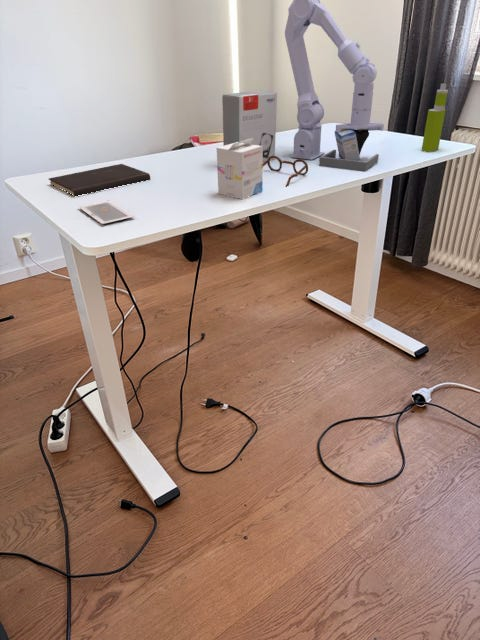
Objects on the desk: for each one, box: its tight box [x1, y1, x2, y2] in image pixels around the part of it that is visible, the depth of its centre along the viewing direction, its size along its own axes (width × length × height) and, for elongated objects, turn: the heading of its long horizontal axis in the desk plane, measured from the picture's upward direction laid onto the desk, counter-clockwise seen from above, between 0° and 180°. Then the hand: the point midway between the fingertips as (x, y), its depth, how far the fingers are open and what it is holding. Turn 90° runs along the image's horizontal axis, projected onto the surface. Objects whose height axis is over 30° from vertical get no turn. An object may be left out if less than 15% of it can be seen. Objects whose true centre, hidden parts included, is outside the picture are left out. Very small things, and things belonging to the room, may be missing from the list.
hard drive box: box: [221, 90, 278, 163], centre depth 149 cm, size 16×8×20 cm, turn 129°
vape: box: [421, 83, 449, 153], centre depth 158 cm, size 4×6×20 cm, turn 126°
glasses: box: [263, 155, 309, 188], centre depth 137 cm, size 13×13×5 cm
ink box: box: [216, 138, 264, 200], centre depth 123 cm, size 9×8×13 cm
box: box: [318, 149, 380, 172], centre depth 149 cm, size 11×15×2 cm
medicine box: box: [334, 129, 361, 161], centre depth 150 cm, size 8×4×9 cm, turn 6°
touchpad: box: [78, 199, 136, 225], centre depth 114 cm, size 8×15×2 cm, turn 36°
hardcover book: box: [48, 163, 151, 197], centre depth 137 cm, size 16×23×2 cm
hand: (356, 155), depth 153 cm, fingers closed
